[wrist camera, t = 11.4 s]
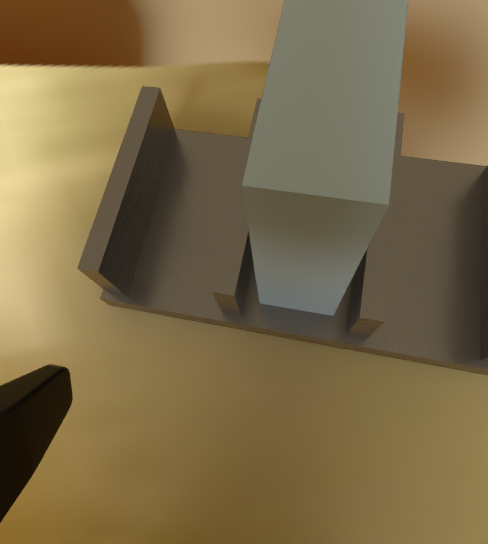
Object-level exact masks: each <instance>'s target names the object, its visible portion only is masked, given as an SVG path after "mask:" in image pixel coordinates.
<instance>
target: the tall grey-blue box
mask: <svg viewBox="0 0 488 544" xmlns="http://www.w3.org/2000/svg"><path fill="white" fill-rule="evenodd" d="M407 7H408V0H284V4H283V8H282V12H281V17H280V21H279V26H278V30H277V35H276V39H275V43H274V47H273V52H272V56H271V60H270V65H269V69H268V73H267V78H266V82H265V87H264V91H263V95H262V100H261V104H260V108H259V113H258V117H257V121H256V126H255V130H254V134H253V139H252V143H251V148H250V152H249V156H248V161H247V165H246V169H245V174H244V178H243V182H242V190H243V197H244V203H245V210H246V217H247V223H248V230H249V236H250V243H251V250H252V256H253V263H254V269H255V276H256V282H257V289H258V296H259V302H260V303H261V304H267V305H272V306H278V307H284V308H290V309H296V310H302V311H307V312H313V313H319V314H325V315H331V316H333V315H334V313H335V311H336V309H337V307H338V305H339V303H340V301H341V299H342V297H343V295H344V293H345V291H346V289H347V287H348V285H349V283H350V281H351V279H352V277H353V275H354V273H355V271H356V269H357V267H358V265H359V263H360V261H361V259H362V257H363V255H364V253H365V252H366V250H367V248H368V246H369V244H370V242H371V240H372V238H373V236H374V234H375V232H376V230H377V228H378V226H379V224H380V222H381V220H382V218H383V216H384V214H385V212H386V210H387V208H388V206H389V198H390V188H391V177H392V166H393V156H394V145H395V135H396V124H397V114H398V103H399V92H400V82H401V71H402V61H403V49H404V39H405V28H406V18H407Z"/></svg>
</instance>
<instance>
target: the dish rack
mask: <svg viewBox="0 0 488 544" xmlns="http://www.w3.org/2000/svg"><path fill="white" fill-rule="evenodd" d="M261 100H262V99H259V98H258V99H257V104H256V108H255V112H254V116H253V120H252V124H251V129H250V133H249V137H248V138H246V137H237V136H229V135H220V134H212V133H204V132H195V131H187V130H178V129H174V126H173V123H172V121H171V118H170V115H169V112H168V109H167V106H166V103H165V101H164V98H163V95H162V92H161V89H160V88H155V87H145V86H142V88H141V91H140V94H139V97H138V100H137V102H136V105H135V108H134V111H133V114H132V116H131V119H130V122H129V125H128V128H127V130H126V133H125V136H124V139H123V142H122V144H121V147H120V150H119V153H118V156H117V158H116V161H115V164H114V167H113V170H112V173H111V175H110V178H109V181H108V184H107V187H106V189H105V192H104V195H103V198H102V201H101V203H100V206H99V209H98V212H97V215H96V217H95V220H94V223H93V226H92V229H91V231H90V234H89V237H88V240H87V243H86V245H85V248H84V251H83V254H82V257H81V259H80V262H79V265H78V268H77V269H79V270H80V271H81V272H83V273H84V274H85V275H86V276H88V277H89V278H90V279H91V280H93V281H94V282H95V283H97V284H98V285H99V286H100V287H102V288H103V292H102V295H101V298H100V299H102V300H103V301H104V302H106V303H107V304H109V305H112V306H118V307H123V308H128V309H134V310H139V311H145V312H150V313H155V314H161V315H166V316H172V317H177V318H182V319H188V320H193V321H199V322H204V323H209V324H215V325H220V326H225V327H231V328H236V329H242V330H247V331H252V332H258V333H263V334H269V335H274V336H279V337H285V338H290V339H296V340H301V341H306V342H312V343H317V344H323V345H328V346H333V347H339V348H344V349H350V350H355V351H360V352H366V353H371V354H377V355H382V356H387V357H393V358H398V359H404V360H409V361H414V362H420V363H425V364H431V365H436V366H441V367H447V368H452V369H458V370H463V371H468V372H474V373H479V374H485V375H488V166H480V165H472V164H463V163H455V162H447V161H438V160H429V159H421V158H413V157H404V156H400V152H401V142H402V130H403V120H404V114H401V113H398V114H397V124H396V135H395V145H394V156H393V166H392V177H391V188H390V198H389V206H388V208H387V210H386V212H385V214H384V216H383V218H382V220H381V222H380V224H379V226H378V228H377V230H376V232H375V234H374V236H373V238H372V240H371V242H370V244H369V246H368V248H367V250H366V252H365V253H364V255H363V257H362V259H361V261H360V263H359V265H358V267H357V269H356V271H355V273H354V275H353V277H352V279H351V281H350V283H349V285H348V287H347V289H346V291H345V293H344V295H343V297H342V299H341V301H340V303H339V305H338V307H337V309H336V311H335V313H334V315H333V316H331V315H325V314H319V313H313V312H307V311H302V310H296V309H290V308H284V307H278V306H272V305H267V304H261V303H260V302H259V296H258V289H257V282H256V276H255V269H254V263H253V256H252V250H251V243H250V236H249V230H248V223H247V217H246V210H245V203H244V197H243V190H242V182H243V178H244V174H245V169H246V165H247V161H248V156H249V152H250V148H251V143H252V139H253V134H254V130H255V126H256V121H257V117H258V113H259V108H260V104H261Z"/></svg>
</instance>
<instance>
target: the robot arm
mask: <svg viewBox="0 0 488 544" xmlns="http://www.w3.org/2000/svg"><path fill="white" fill-rule="evenodd" d="M71 403H72V387H71V379H70V372H69V370H68V369H67V368H66V367H62V366H57V365H53V364H49V365H46V366H44V367H41V368H39V369H37V370H35V371H32V372H30V373H28V374H26V375H23V376H21V377H19V378H16V379H14V380H12V381H10V382H7V383H5V384H3V385H1V386H0V522H1V521H2V520H3V518H4V517H5V515H6V514H7V512H8V511H9V509H10V508H11V506H12V505H13V503H14V502H15V500H16V499H17V498H18V496H19V495H20V493H21V492H22V490H23V489H24V487H25V486H26V484H27V483H28V481H29V480H30V478H31V477H32V475H33V474H34V472H35V470H36V468H37V467H38V465H39V463H40V462H41V460H42V458H43V456H44V454H45V452H46V451H47V449H48V447H49V445H50V443H51V441H52V440H53V438H54V436H55V434H56V432H57V431H58V429H59V427H60V425H61V423H62V421H63V420H64V418H65V416H66V414H67V412H68V410H69V408H70V406H71Z"/></svg>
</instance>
